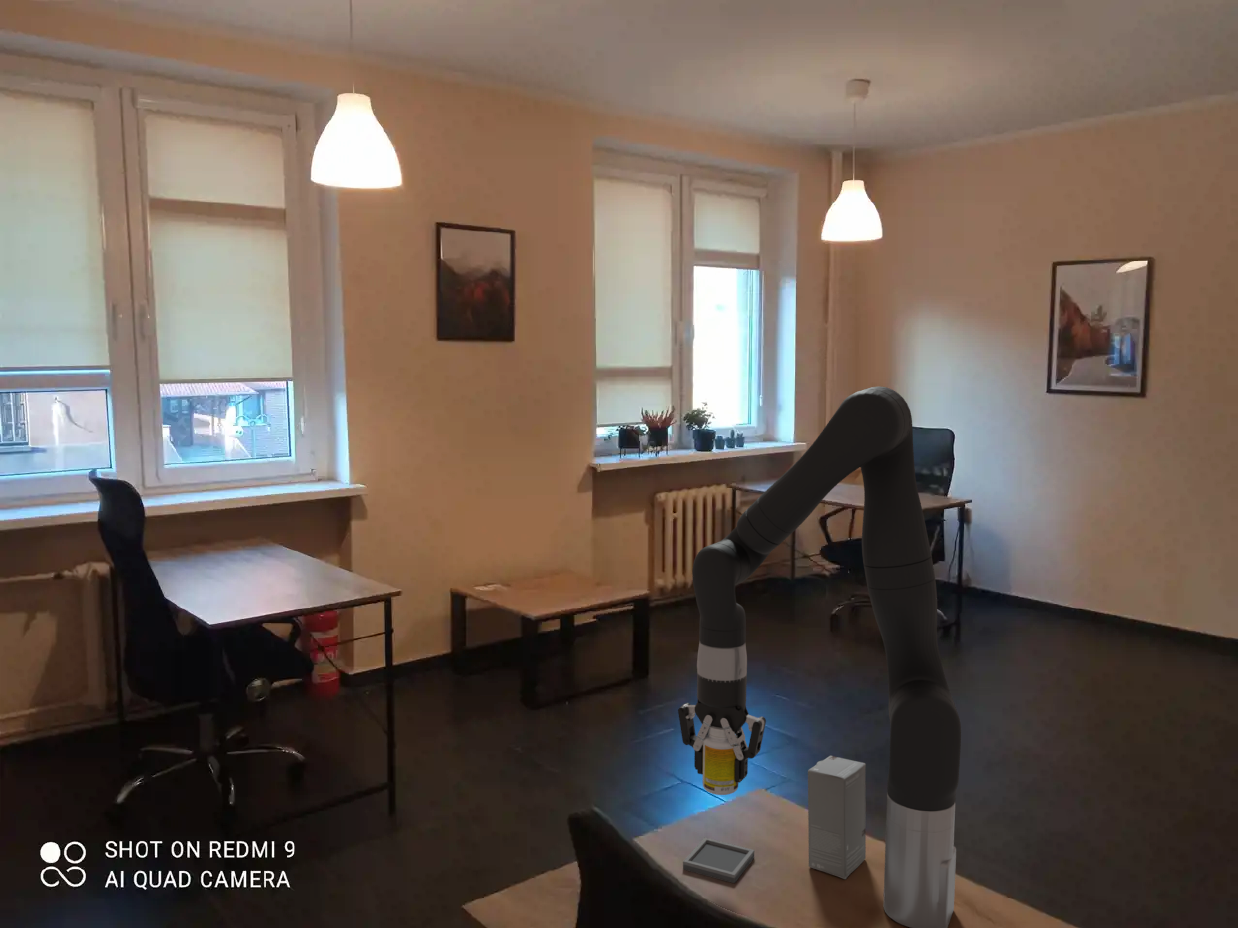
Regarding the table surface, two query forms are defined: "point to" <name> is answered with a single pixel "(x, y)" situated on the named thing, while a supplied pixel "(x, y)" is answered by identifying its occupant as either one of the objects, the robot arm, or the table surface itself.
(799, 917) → the table surface
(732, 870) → the charcoal tray
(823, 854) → the skincare box
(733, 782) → the supplement bottle
